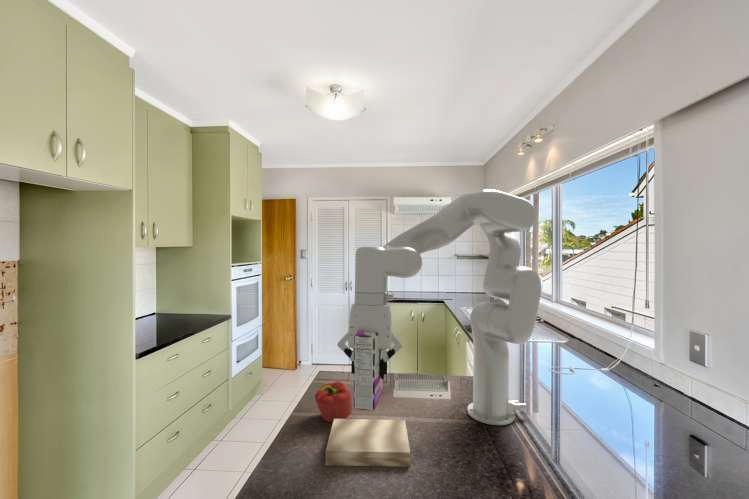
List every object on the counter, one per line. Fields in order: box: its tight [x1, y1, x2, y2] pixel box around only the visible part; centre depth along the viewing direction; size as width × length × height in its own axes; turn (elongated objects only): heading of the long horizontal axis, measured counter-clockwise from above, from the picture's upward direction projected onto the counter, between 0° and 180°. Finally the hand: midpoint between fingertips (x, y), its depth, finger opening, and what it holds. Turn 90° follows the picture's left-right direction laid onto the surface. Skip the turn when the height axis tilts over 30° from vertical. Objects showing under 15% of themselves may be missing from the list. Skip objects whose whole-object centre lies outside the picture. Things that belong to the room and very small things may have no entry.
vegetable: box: [314, 381, 353, 423], centre depth 92 cm, size 11×10×10 cm
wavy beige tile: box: [324, 418, 411, 468], centre depth 79 cm, size 18×14×3 cm
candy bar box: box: [353, 332, 384, 412], centre depth 79 cm, size 11×5×16 cm, turn 169°
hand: (369, 376), depth 79 cm, fingers closed on candy bar box, 5 cm apart
